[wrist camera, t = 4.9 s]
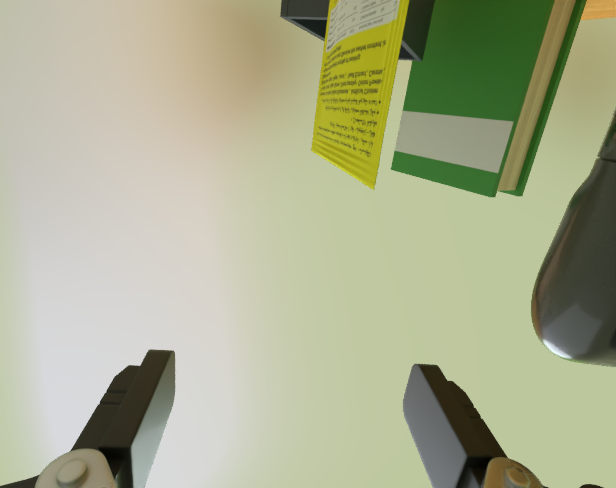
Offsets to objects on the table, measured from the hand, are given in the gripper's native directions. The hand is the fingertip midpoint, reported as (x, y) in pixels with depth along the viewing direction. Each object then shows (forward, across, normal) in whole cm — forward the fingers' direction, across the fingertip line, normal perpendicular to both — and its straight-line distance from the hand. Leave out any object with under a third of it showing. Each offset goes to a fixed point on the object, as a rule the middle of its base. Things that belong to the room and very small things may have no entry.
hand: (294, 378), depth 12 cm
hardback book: (+42, -25, -25) cm, 55 cm away
